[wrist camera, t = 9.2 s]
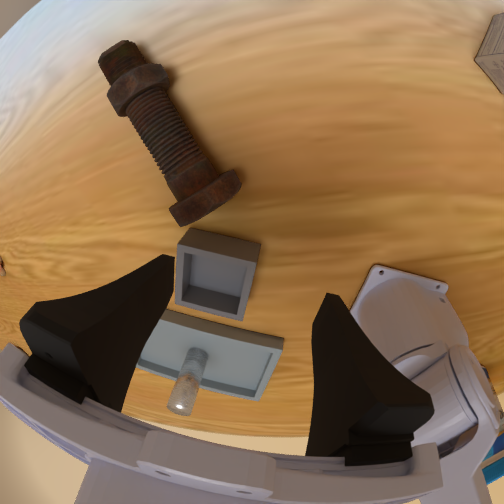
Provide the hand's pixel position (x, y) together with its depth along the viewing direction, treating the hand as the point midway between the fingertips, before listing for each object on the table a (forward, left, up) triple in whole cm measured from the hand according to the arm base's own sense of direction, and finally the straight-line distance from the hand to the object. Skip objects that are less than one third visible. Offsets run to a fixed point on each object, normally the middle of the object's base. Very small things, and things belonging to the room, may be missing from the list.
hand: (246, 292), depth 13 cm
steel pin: (+4, +19, -10) cm, 22 cm away
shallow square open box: (+3, +6, -10) cm, 12 cm away
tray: (+4, +19, -10) cm, 22 cm away
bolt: (+9, -6, -11) cm, 15 cm away
